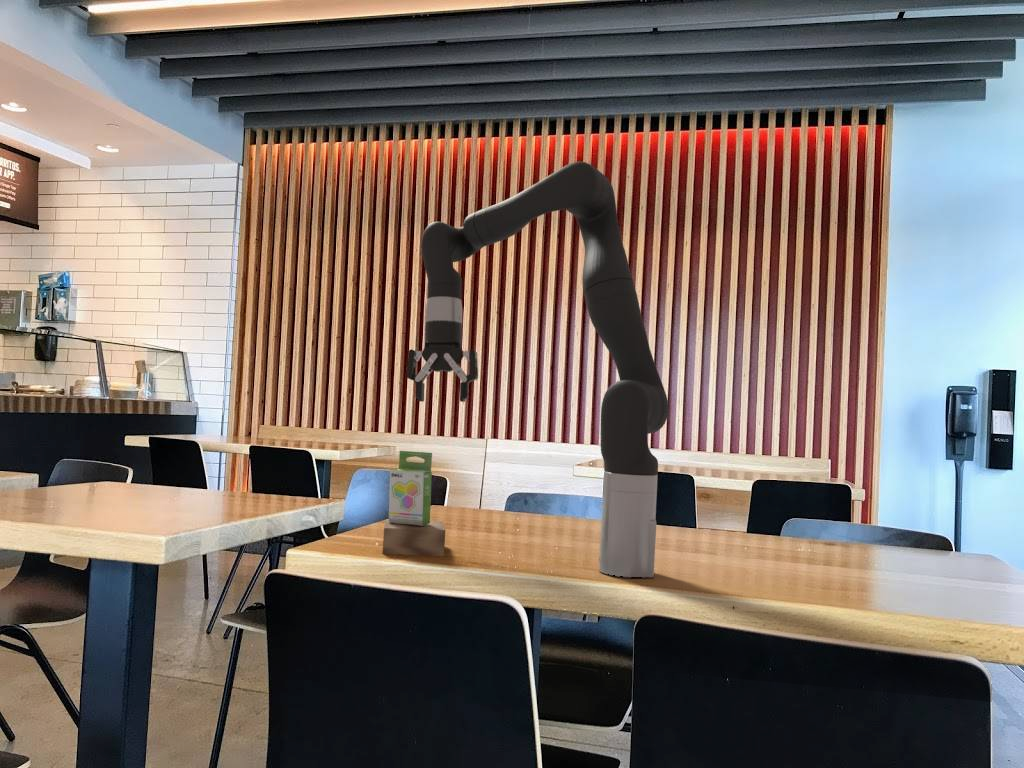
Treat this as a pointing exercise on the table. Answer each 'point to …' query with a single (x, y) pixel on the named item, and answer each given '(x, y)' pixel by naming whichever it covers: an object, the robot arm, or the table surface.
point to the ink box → (411, 490)
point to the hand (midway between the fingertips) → (441, 401)
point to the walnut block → (414, 539)
